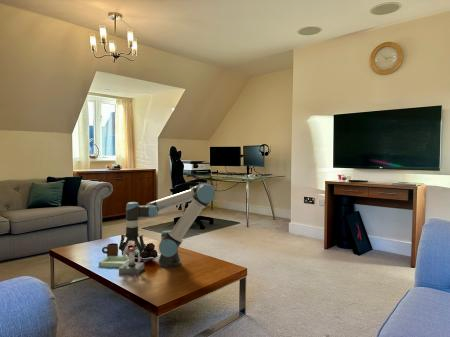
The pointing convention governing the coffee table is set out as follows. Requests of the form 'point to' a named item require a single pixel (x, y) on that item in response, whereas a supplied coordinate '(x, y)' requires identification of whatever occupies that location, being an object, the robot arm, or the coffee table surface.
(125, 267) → the block
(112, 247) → the mug
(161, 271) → the coffee table surface
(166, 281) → the coffee table surface
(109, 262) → the tray
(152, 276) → the coffee table surface
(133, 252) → the pin
